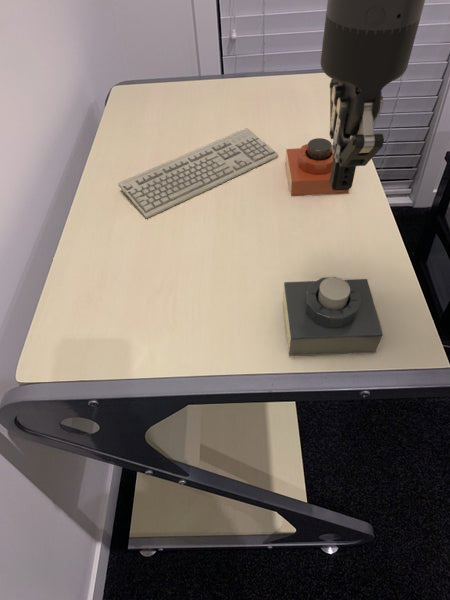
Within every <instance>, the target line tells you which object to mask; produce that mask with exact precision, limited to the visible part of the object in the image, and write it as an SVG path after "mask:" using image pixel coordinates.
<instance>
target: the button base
mask: <svg viewBox="0 0 450 600" xmlns="http://www.w3.org/2000/svg"><path fill="white" fill-rule="evenodd" d="M307 148H308V143H305V144H303V145H302V146H301V147H298V148H297V147H296V148H286V149H285V169H286V175H287V181H288V186H289V193H290V196H291V197H293V196H311V195H312V196H314V195H315V196H317V195H333V194H335V195H336V194H349V191H350V189H349V190H337V191H335V190H333V189H332V187H331V183H330V174H331V168H332V162H333V156H334V154H335V153H333V151H332V147H331V154H330V157H329V159H326V160H321V161H316V160H312V159H310V158H308V157H307Z"/></svg>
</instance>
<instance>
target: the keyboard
mask: <svg viewBox="0 0 450 600" xmlns="http://www.w3.org/2000/svg"><path fill="white" fill-rule="evenodd" d="M278 157H279V153H278V152H277V151H275V150H274V149H273V148H272V147H271V146H269V145H268V144H267V143H266V142H265V141H264V140H262V139H261V138H260V137H259V136H258V135H256V134H255V133H254V132H253V131H251V129H249V128H248V127H245V128H243V129H240V130H239V131H236V132H234V133H231V134H229V135H227V136H224V137H222V138H219V139H217V140H215V141H212V142H211V143H208V144H206V145H203V146H201V147H199V148H196V149H194V150H192V151H188V152H186V153H184V154H182V155H180V156H177V157H174V158H173V159H171V160H169V161H165V162H164V163H161V164H159V165H157V166H154V167H151V168H149V169H146V170H145V171H143V172H139V173H137V174H135V175H133V176H131V177H128V178H126V179H124V180H122V181H119V182H118V183H117V184H118V187H119V188H120V189H121V191H122V192H123V193H124V194H125V195H126V197H128V199H129V200H130V201H131V202H132V203H133V204H134V206H135V207H136V208H137V210H138V211H139V212H140V213H141V214H142V215H143V216H144V218H146V219H149V218H152V217H153V216H156V215H158V214H160V213H162V212H165V211H166V210H169V209H171V208H172V207H175V206H177V205H179V204H181V203H183V202H186V201H188V200H189V199H192V198H194V197H196V196H198V195H201V194H203V193H205V192H207V191H209V190H212V189H213V188H215V187H218V186H220V185H222V184H224V183H226V182H228V181H230V180H233V179H234V178H237V177H238V176H241V175H243V174H245V173H248V172H250V171H251V170H254V169H255V168H258V167H260V166H262V165H264V164H266V163H269V162H270V161H272V160H275V159H276V158H278Z"/></svg>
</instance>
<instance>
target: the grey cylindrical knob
mask: <svg viewBox="0 0 450 600" xmlns="http://www.w3.org/2000/svg"><path fill="white" fill-rule="evenodd" d="M330 277H331V278H327V277H326V278H327V279H325V280H323V281H322V282H321V284H320V288H319V293H318V301H319V303H320V304H321V305H322V306H323V307H324V308H326V309H329V310H340V309H342V308H344V307H345V306H346V304H347V302H348V298H349V294H350V286H349V285H348V283H347V282H346V281H344V280H345V279H343V278H340V277H337V278H336V276H330Z"/></svg>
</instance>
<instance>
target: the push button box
mask: <svg viewBox="0 0 450 600" xmlns="http://www.w3.org/2000/svg"><path fill="white" fill-rule="evenodd" d="M331 277H332V276H329V277H320V278H319V279H317V280H307V281H306V280H305V281H284V282H283V289H282V290H283V292H282V308H283V316H284V326H285V334H286V342H287V343H286V344H287V352H288V356H306V355H307V356H309V355H312V356H313V355H336V354H337V355H338V354H370V353H372V354H373V353H377V351H378V349H379V346H380V343H381V341H382V338H383V336H384V333H383V330H382V325H381V322H380V318H379V315H378V312H377V308H376V305H375V302H374V298H373V294H372V292H371V291H372V290H371V288H370V283H369V280H368V278H358V279H357V278H356V279H355V278H354V279H343V280H344V281H346V282H347V283H348V285H349V286H350V294H349V298H348V302H347V304H346V306H345V307H344V308H342V309H340V310H329V309H326V308H324V307H323V306H322V305H321V304H320V303H319V301H318V293H319V288H320V284H321V282H322V281H323V280H325V279H327V278H331ZM335 277H336V276H335ZM336 278H338V277H336Z"/></svg>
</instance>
